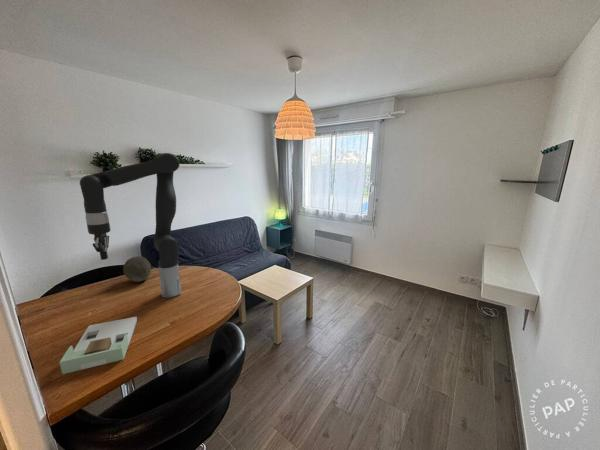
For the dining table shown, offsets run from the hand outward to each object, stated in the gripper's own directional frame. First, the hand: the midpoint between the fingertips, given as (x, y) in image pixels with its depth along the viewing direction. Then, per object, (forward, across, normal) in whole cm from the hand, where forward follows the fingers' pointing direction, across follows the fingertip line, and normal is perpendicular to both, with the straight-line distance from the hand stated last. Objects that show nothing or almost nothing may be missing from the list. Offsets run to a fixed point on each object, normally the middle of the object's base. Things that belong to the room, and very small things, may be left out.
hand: (104, 258), depth 106 cm
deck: (+27, -24, -3) cm, 36 cm away
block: (+25, -31, -3) cm, 40 cm away
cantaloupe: (+27, +31, -5) cm, 42 cm away
